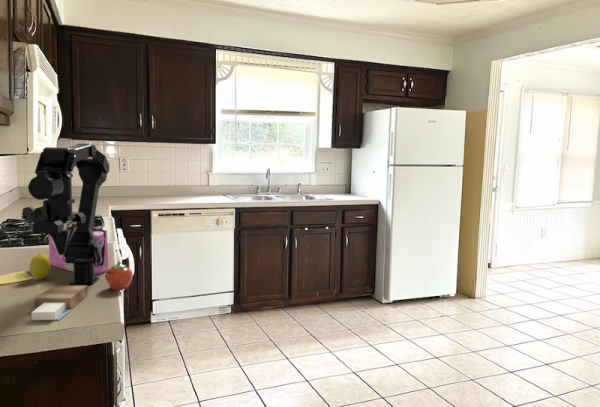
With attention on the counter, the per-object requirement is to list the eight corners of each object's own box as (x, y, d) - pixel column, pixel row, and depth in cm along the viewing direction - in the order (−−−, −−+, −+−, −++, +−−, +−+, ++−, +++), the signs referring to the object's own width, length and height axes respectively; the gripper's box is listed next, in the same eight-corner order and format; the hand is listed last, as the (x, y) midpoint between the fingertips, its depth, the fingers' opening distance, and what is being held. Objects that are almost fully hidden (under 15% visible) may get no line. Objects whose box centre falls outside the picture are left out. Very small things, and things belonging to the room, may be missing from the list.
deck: (55, 296, 124) (54, 285, 124) (87, 296, 125) (87, 285, 124) (35, 310, 113) (34, 298, 113) (70, 310, 114) (70, 298, 113)
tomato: (101, 287, 132) (100, 260, 132) (126, 283, 138) (126, 257, 137) (111, 294, 127) (111, 265, 126) (137, 288, 132) (137, 261, 131)
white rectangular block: (44, 309, 113) (44, 302, 113) (66, 309, 113) (65, 302, 113) (31, 319, 106) (31, 312, 106) (54, 319, 107) (54, 312, 106)
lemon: (53, 276, 142) (52, 251, 141) (47, 281, 137) (46, 255, 136) (34, 276, 141) (33, 251, 140) (27, 282, 136) (25, 255, 135)
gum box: (111, 272, 150) (111, 231, 148) (89, 277, 143) (88, 234, 141) (71, 260, 163) (69, 223, 161) (48, 265, 156) (47, 225, 155)
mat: (43, 310, 113) (43, 309, 113) (71, 310, 113) (71, 309, 113) (30, 320, 106) (30, 319, 106) (59, 320, 107) (59, 319, 107)
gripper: (44, 191, 128) (46, 246, 130) (7, 198, 109) (10, 262, 111) (85, 192, 129) (87, 247, 131) (55, 199, 110) (58, 263, 112)
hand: (61, 254), depth 121 cm, fingers closed
